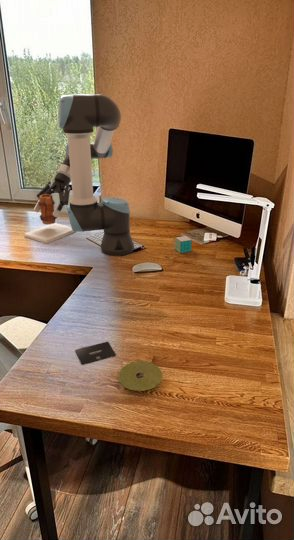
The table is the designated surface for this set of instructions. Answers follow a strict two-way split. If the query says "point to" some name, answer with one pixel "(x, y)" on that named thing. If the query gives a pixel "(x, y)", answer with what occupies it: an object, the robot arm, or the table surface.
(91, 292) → the table surface
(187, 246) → the puzzle toy
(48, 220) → the orange brown figurine
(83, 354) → the solid state drive
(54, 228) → the cream rectangular slab
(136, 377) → the olive green disc
